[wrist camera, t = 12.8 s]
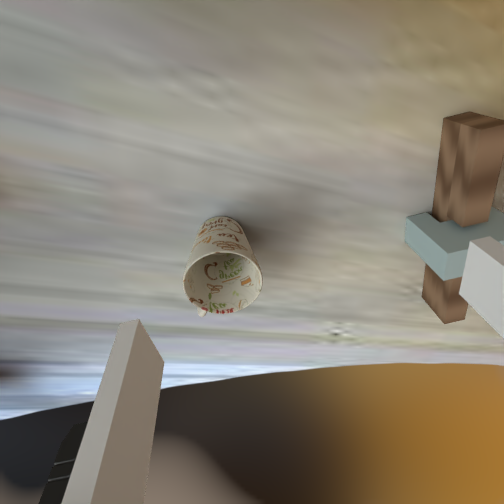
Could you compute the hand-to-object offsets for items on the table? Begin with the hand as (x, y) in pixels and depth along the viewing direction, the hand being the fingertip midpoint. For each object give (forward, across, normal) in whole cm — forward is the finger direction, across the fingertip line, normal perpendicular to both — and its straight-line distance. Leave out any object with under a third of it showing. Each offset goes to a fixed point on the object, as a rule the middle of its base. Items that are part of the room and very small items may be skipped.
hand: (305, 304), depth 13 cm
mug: (+27, -7, -13) cm, 31 cm away
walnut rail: (+27, +24, -17) cm, 40 cm away
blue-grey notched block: (+27, +24, -17) cm, 40 cm away
